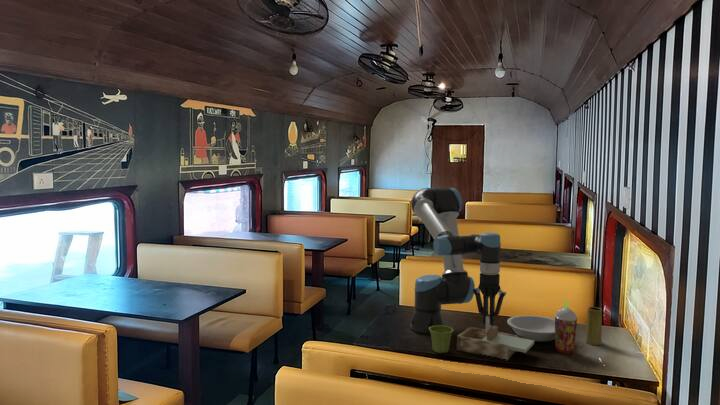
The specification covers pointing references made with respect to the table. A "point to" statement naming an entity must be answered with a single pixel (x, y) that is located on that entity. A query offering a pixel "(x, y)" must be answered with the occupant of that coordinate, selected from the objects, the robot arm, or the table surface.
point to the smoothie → (565, 330)
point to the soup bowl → (533, 327)
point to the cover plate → (508, 340)
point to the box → (482, 344)
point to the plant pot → (440, 338)
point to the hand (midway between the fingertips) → (488, 332)
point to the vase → (594, 326)
